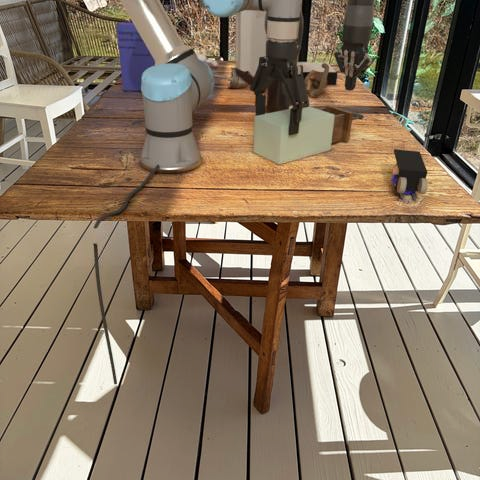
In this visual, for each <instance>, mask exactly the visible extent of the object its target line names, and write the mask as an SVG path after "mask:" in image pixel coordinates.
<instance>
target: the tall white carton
mask: <svg viewBox="0 0 480 480" xmlns="http://www.w3.org/2000/svg"><path fill="white" fill-rule="evenodd" d="M265 13H266V11H253V10H244V11H241V12H238V13H236V14H235V59H234V60H235V62H234V63H235V65H234V66H235V67H234V68H237V69H240V70H242V71H244V72H245V71H249V72H250V73H251V75H252V76H255V73H256V71H257V68H258V65H259V58H260V57H264V56H266V41H267V40H269V39H268V38H267V37H266V32H265V27H264V21H265Z"/></svg>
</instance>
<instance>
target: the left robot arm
mask: <svg viewBox="0 0 480 480" xmlns="http://www.w3.org/2000/svg"><path fill="white" fill-rule="evenodd" d="M119 1H120V3H121V6H122V7H123V9H124V11H125V12H126V13H127V15H128V17H129V18H130V21H131V23H133V24H134V25H135V27H136V29H137V31H138V32H139V34H140V36H141V38H142V39H143V41H144V43H145V44H146V46H147V48H148V50H149V51H150V53H151V55H152V57H153V58H154V60H155V66H152V67H150V68H148V69H146V70H145V71H144V72H143V74H142V78H141V80H142V85H141V91H140V92H141V95H142V97H141V98H142V106H143V115H144V125H145V126H144V127H145V138H144V142H143V146H142V150H141V154H140V162H141V166H142V168H144V169H145V170H146V171H149V172H150V173H149V174H148V175H147V177H146V178H145V179H144V180H143V182H142V183H141V184H139V185H138V187H137V188H135V189H133V191H130V193H129V194H128V195H127V196H126V198H125V200H124V201H123V204H122V206H121V207H120V208H119V209H117V210H116V209H115V210H114V211H110V212H107V213H104V214H103V215H101V216H99V218H98V219H96V222H95V223H94V226H93V229H97V228H99V226H100V224H101V222H102V221H103V220H104V219H106V218H108V217H112V216H115V215H118V214H121V213H122V212H123V211H125V209H126V208H127V207H128V205H129V202H130V199H131V198H133V196H134V195H135V194H137V193H138V192H139V191H141V190H142V189H143V188H144V187H145V185H147V183H148V182H149V181H150V179H151V178H152V176H153V175H154V174H155V173H156V174H163V175H164V174H165V175H169V174H170V175H172V174H173V175H175V174H182V173H187V172H190V171H193V170H195V169H197V168H198V167H199V166H201V163H202V155H201V151H200V149H199V146H198V143H197V141H196V137H195V135H194V130H193V129H194V126H193V112H194V111H195V110H196V109H197V108H199V107H200V106H202V105H204V104H206V102H207V101H208V99H209V98H210V97H211V95H212V94H213V92H214V89H215V78H214V76H213V75H214V72H213V70H212V68H211V67H210V66H209V64H208V63H205V62H204V61H202V60H200V59H198V57H197V55H196V52H195V50H194V48H193V46H189V45H186V44H184V42H183V40H182V39H181V37H180V35H179V33H178V31H177V29H176V28H175V26H174V24H173V22H172V20H171V19H170V17H169V15H168V14H167V12H166V10H165V8H164V6H163V4H162V2H161V0H119ZM192 1H193V2H194V3H197V4H199V5H201V6H203V7H204V8H205V9H206V11H208V13H209V14H211V15H212V16H214V17H217V18H229V17H231V16H232V17H233V16H234V15H236V13H238V12H241V11H244V10H253V11H268V18H267V32H266V37H267V38H268V39H269V40H267V41H266V56H264V57H260V58H259V65H258V68H257V71H256V73H255V76H254V79H253V81H252V84H251V85H250V87H249V90H250V92H253V94H254V96H255V97H254V106H255V116H258V115H263V114H266V103H267V94H266V92H267V88H268V87H269V85H270V84H271V82H272V81H273V80H274V79H277V80H278V81H281V82H282V84H283V85H284V86H285V88H286V91H287V93H288V96H289V98H290V101H291V103H292V106H293V108H291V110H290V123H289V135H294V134H298V133H299V123H300V122H301V117H302V109H303V108H307V107H309V106H310V101H309V97H308V92H307V87H306V86H305V82H304V77H303V66H302V65H297V66H294V63H293V60H294V58H295V57H296V55H297V44H298V43H297V41H295V40H296V39H297V38H298V30H299V19H300V10H301V7H302V0H192ZM288 78H290V79H288ZM255 116H254V117H255ZM92 246H93V257H94V271H95V281H96V290H97V296H98V302H99V309H100V315H101V320H102V321H101V322H102V324H103V331H104V336H105V341H106V346H107V353H108V357H109V361H110V368H111V373H112V380H113V384H114V385H117V384H118V380H117V374H116V368H115V362H114V355H113V351H112V344H111V339H110V335H109V329H108V324H107V319H106V318H107V317H106V313H105V307H104V300H103V294H102V286H101V277H100V267H99V249H98V243H94V242H93V245H92Z"/></svg>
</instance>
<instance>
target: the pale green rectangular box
mask: <svg viewBox="0 0 480 480" xmlns="http://www.w3.org/2000/svg"><path fill="white" fill-rule="evenodd" d="M319 109H320V108H316V107H313V106H310V105H309V107H307V108H303V109H302V117H301V122H300V123H299V133H298V134H294V135H289V123H290V110H291V109H287V110H282V111H277V112H272V113H268V114H266V113H265V114H263V115H258V116H254V117H253V118H254V119H253V121H254V123H253V150H252V151H253V153H255V154H257V155H258V156H260V157H263V158H265V159H266V160H269V161H271V162H273V163H275V164H277V165H282V164H285V163H289V162H293V161H296V160H300V159H304V158H307V157H310V156H314V155H318V154H321V153H325V152H329V151H331V149H332V143H331V142H332V133H333V125H334V116H335V115H334V114H331V113H328V112H325V111H322V110H319Z"/></svg>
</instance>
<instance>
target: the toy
mask: <svg viewBox="0 0 480 480" xmlns="http://www.w3.org/2000/svg"><path fill="white" fill-rule="evenodd" d="M195 54H196V55H197V57H198V59H200V60H202V61H204V62H205V63H206V64H212V65H213V66H214V67H216V68H217V67H218V66H219V63H218V62H217V61H216V60H215V59H213V58H207V56H206V55H205V54H202V53H201V51H197V52H195Z"/></svg>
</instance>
